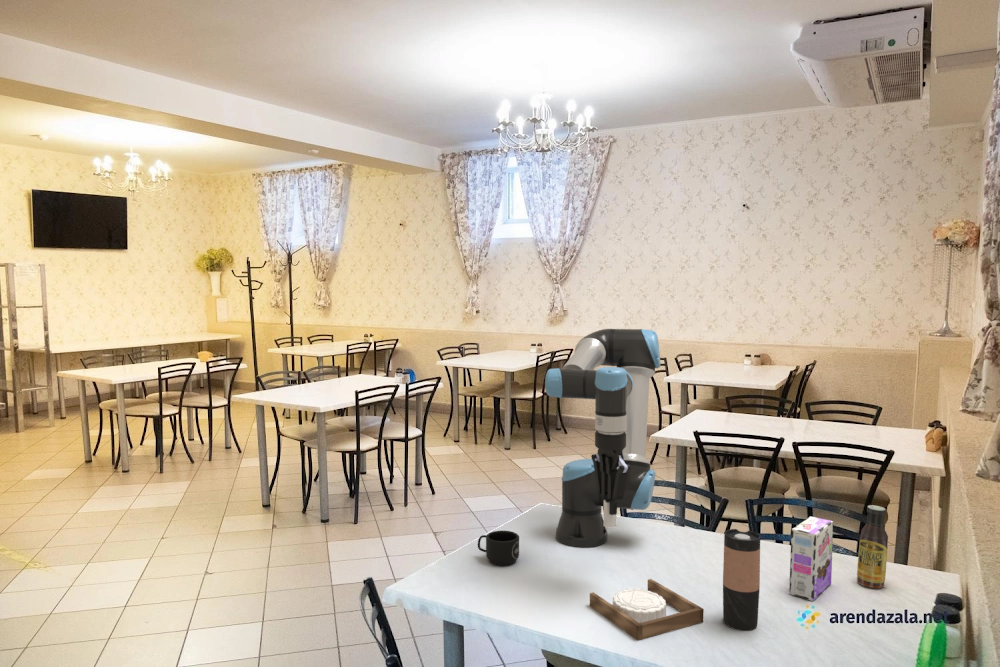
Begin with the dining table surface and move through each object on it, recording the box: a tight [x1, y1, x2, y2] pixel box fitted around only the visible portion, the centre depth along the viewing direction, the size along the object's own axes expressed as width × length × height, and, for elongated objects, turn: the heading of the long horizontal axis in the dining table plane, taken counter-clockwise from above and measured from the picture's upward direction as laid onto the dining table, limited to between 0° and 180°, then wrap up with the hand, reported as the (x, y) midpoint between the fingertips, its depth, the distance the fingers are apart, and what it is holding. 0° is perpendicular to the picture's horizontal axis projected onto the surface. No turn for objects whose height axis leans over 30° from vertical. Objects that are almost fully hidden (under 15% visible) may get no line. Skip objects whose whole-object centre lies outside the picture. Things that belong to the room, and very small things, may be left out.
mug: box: [477, 530, 520, 566], centre depth 187 cm, size 12×9×7 cm
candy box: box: [788, 516, 834, 602], centre depth 169 cm, size 14×6×16 cm, turn 137°
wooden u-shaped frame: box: [589, 578, 705, 641], centre depth 156 cm, size 18×18×3 cm
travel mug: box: [722, 528, 761, 632], centre depth 151 cm, size 8×8×20 cm
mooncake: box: [612, 588, 667, 623], centre depth 157 cm, size 12×12×4 cm
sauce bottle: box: [856, 504, 889, 590], centre depth 172 cm, size 7×6×20 cm
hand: (609, 525), depth 168 cm, fingers closed
